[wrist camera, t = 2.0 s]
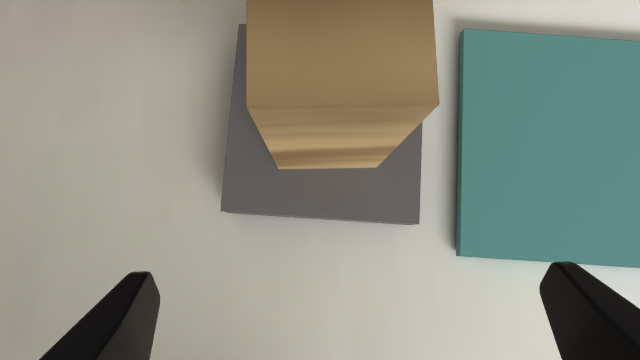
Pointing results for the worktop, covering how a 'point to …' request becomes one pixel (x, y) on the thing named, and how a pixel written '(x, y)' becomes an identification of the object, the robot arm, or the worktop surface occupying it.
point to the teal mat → (549, 148)
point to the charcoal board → (314, 174)
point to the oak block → (339, 78)
